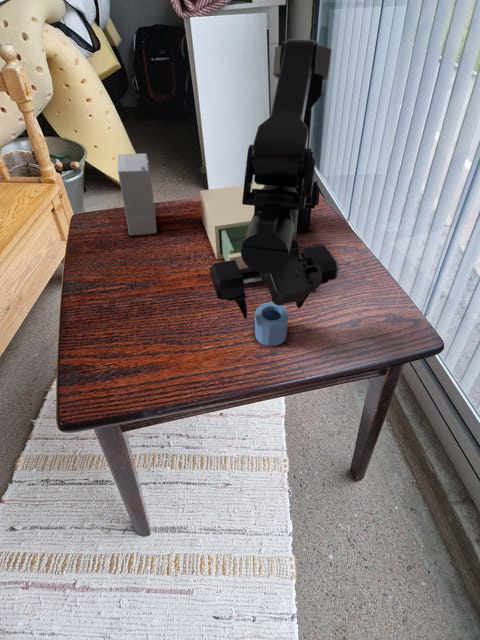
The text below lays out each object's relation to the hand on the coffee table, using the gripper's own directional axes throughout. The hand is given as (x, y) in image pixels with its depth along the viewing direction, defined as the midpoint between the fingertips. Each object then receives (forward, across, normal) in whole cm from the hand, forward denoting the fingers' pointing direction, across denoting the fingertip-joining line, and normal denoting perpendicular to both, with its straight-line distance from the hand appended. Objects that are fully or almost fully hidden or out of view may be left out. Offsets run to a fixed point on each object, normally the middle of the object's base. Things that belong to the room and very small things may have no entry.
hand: (271, 311), depth 69 cm
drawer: (+4, +3, +19) cm, 20 cm away
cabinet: (+5, +3, +32) cm, 32 cm away
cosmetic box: (+6, -18, +42) cm, 46 cm away
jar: (+5, 0, 0) cm, 5 cm away
